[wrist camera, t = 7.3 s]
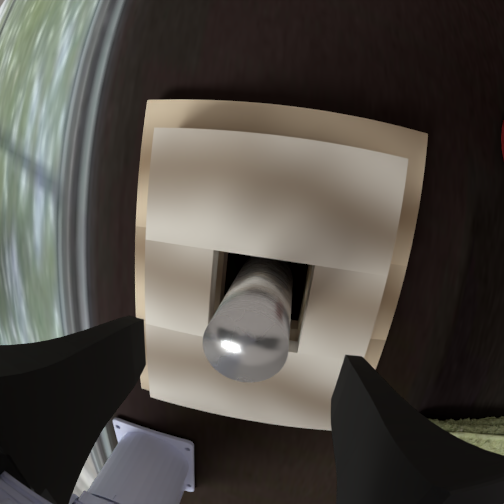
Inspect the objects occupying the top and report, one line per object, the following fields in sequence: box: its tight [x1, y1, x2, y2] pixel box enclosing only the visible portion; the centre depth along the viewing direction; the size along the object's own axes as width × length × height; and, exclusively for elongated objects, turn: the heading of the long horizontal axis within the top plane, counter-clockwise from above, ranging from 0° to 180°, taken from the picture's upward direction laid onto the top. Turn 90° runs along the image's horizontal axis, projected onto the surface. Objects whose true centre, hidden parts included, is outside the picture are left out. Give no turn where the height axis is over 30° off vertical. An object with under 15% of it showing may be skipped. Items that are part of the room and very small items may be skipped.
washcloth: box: [429, 416, 504, 455], centre depth 20 cm, size 13×18×3 cm
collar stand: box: [135, 99, 428, 431], centre depth 17 cm, size 20×16×4 cm
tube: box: [203, 256, 293, 383], centre depth 15 cm, size 3×3×8 cm
